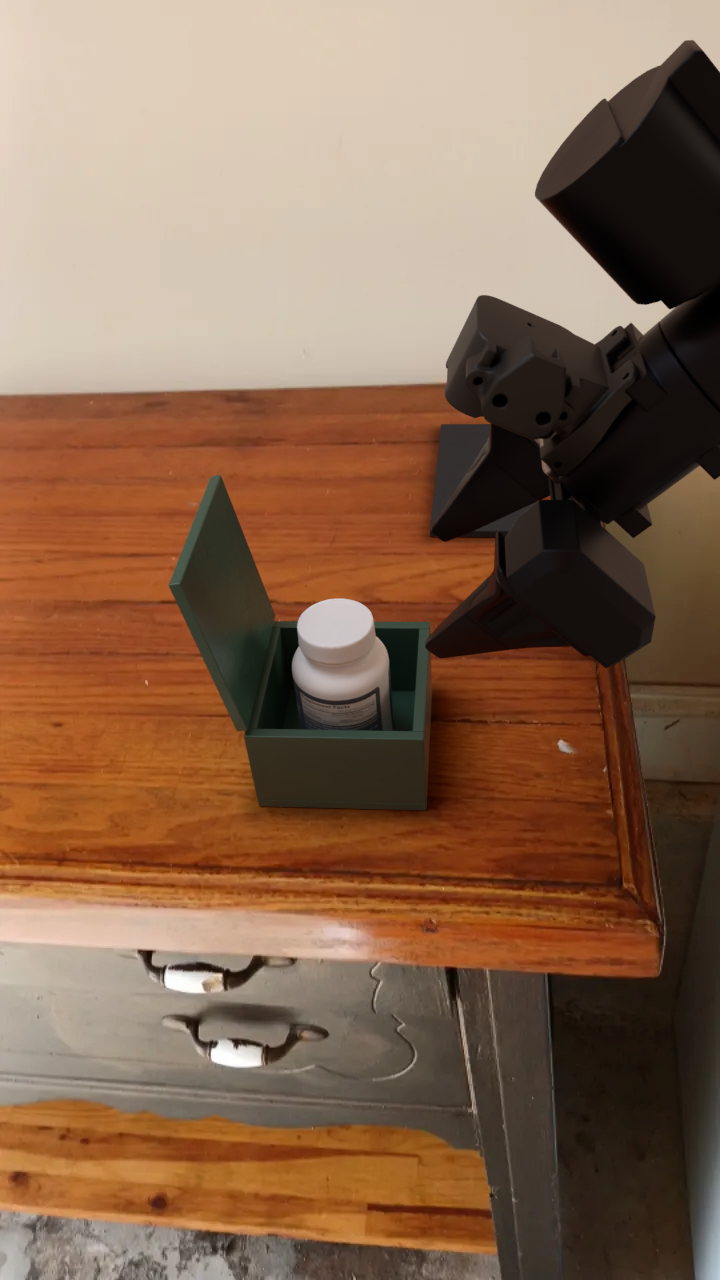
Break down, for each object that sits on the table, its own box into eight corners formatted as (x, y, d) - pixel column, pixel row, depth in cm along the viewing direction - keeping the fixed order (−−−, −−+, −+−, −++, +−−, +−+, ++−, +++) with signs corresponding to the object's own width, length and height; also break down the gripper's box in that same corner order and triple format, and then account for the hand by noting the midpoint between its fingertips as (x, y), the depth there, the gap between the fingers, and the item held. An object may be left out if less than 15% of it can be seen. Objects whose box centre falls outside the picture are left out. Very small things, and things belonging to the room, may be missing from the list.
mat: (539, 538, 70) (540, 531, 69) (429, 537, 71) (429, 530, 70) (535, 429, 81) (535, 423, 81) (441, 430, 83) (440, 424, 82)
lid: (220, 474, 49) (210, 476, 49) (179, 583, 42) (167, 585, 43) (275, 615, 55) (266, 616, 55) (247, 731, 48) (236, 732, 49)
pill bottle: (329, 697, 58) (314, 580, 52) (409, 719, 56) (402, 601, 50) (287, 758, 54) (266, 640, 48) (371, 784, 52) (359, 665, 46)
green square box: (432, 691, 58) (430, 621, 55) (426, 811, 51) (423, 739, 48) (283, 689, 59) (271, 620, 56) (258, 806, 52) (243, 736, 49)
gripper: (555, 165, 43) (331, 396, 51) (595, 342, 29) (278, 620, 37) (707, 331, 47) (477, 519, 55) (806, 555, 33) (478, 761, 41)
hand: (434, 588), depth 47 cm, fingers open, 9 cm apart
